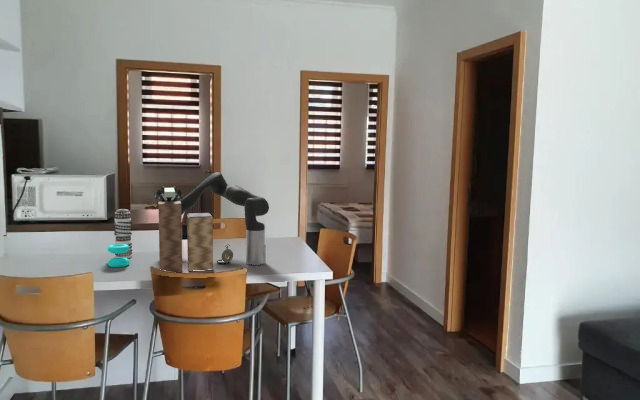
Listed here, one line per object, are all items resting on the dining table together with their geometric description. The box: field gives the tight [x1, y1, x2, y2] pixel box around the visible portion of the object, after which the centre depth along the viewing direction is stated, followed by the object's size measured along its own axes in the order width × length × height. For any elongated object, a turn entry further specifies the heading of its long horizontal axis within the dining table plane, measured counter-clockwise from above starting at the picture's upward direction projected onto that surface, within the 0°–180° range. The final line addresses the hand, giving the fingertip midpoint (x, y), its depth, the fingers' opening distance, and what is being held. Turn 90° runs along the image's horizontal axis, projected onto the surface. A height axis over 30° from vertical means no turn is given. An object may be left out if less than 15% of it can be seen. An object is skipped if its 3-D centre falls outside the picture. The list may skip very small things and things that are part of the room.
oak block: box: [186, 212, 214, 272], centre depth 238 cm, size 11×12×26 cm
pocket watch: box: [216, 243, 234, 264], centre depth 250 cm, size 8×8×10 cm
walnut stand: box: [158, 200, 183, 273], centre depth 234 cm, size 10×10×32 cm
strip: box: [164, 187, 175, 197], centre depth 234 cm, size 4×24×2 cm, turn 18°
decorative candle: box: [113, 208, 133, 259], centre depth 261 cm, size 9×9×25 cm
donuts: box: [106, 243, 131, 268], centre depth 242 cm, size 10×10×10 cm
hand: (169, 188), depth 241 cm, fingers closed on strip, 4 cm apart
